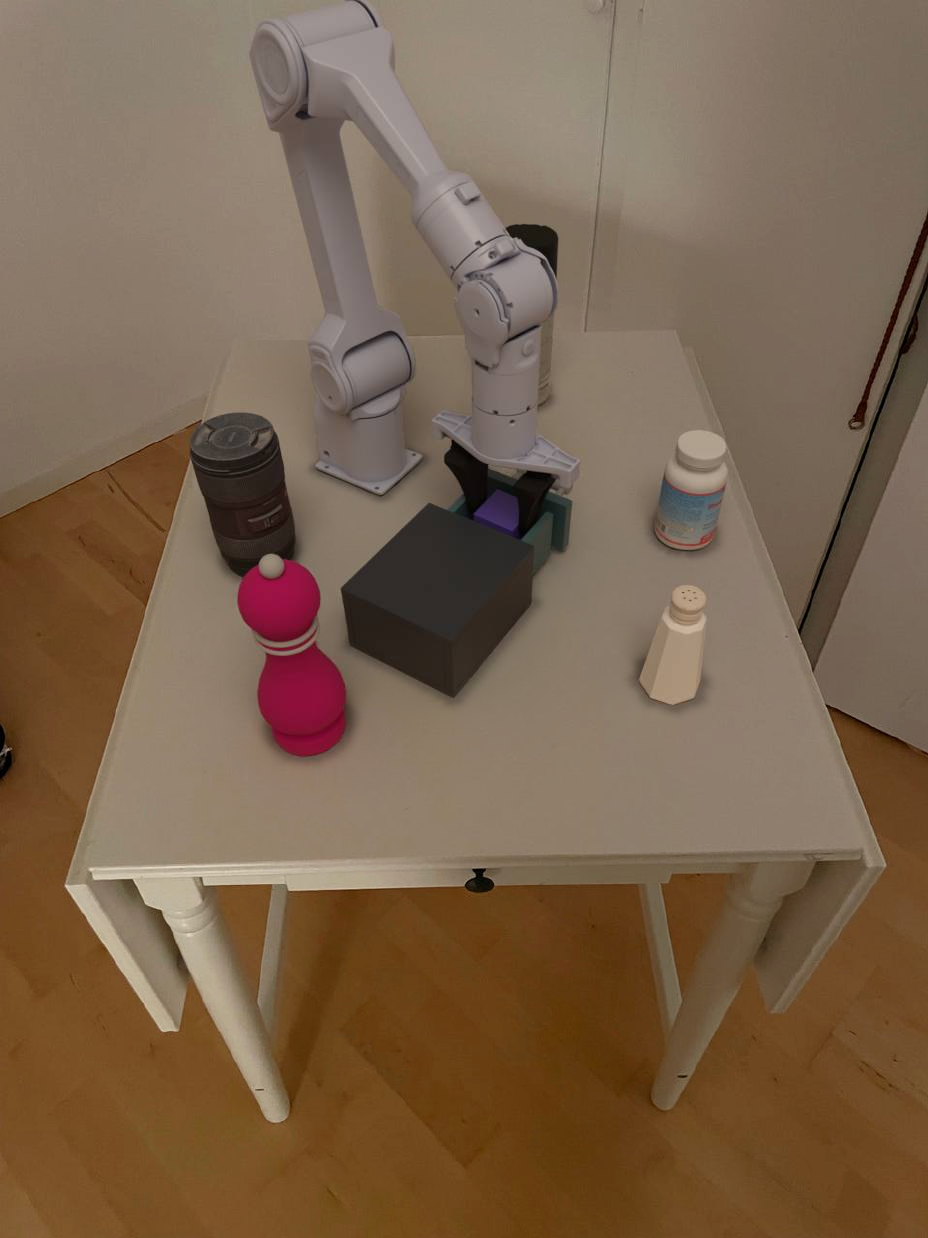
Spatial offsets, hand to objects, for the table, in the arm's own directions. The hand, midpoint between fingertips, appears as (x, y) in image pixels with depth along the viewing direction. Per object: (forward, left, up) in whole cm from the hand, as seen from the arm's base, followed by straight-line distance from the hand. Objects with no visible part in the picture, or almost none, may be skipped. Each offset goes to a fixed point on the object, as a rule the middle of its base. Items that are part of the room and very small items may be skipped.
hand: (502, 517), depth 89 cm
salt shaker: (+21, -6, -6) cm, 22 cm away
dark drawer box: (0, -11, -5) cm, 12 cm away
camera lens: (-21, -13, -6) cm, 25 cm away
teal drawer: (0, 0, -4) cm, 5 cm away
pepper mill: (-3, -27, -6) cm, 28 cm away
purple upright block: (0, 0, -3) cm, 3 cm away
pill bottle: (+14, +13, -6) cm, 20 cm away
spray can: (-13, +26, -6) cm, 30 cm away
